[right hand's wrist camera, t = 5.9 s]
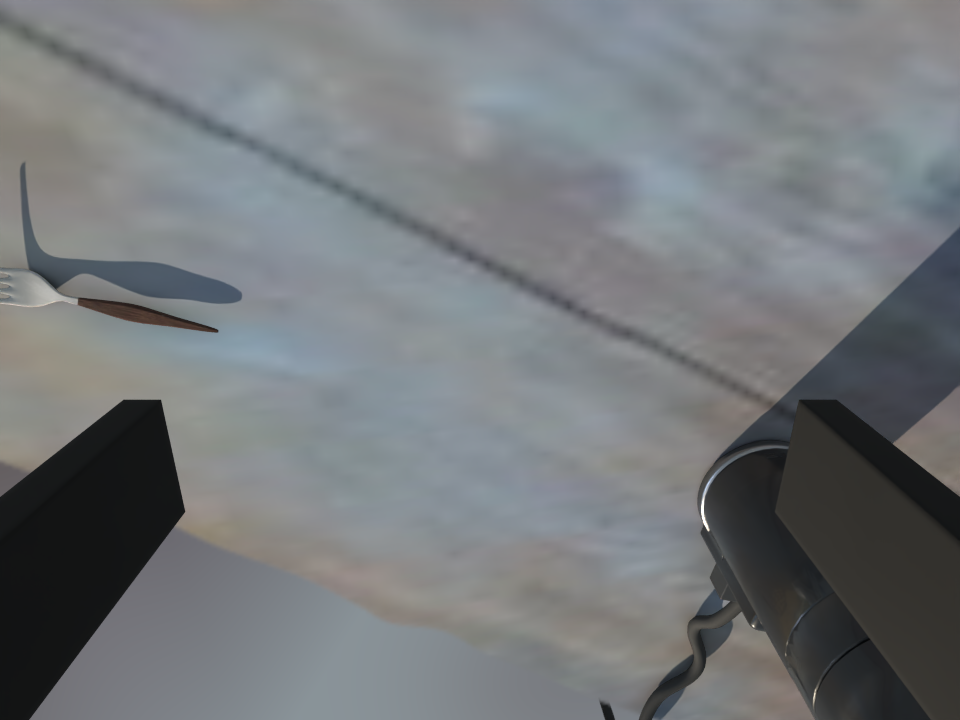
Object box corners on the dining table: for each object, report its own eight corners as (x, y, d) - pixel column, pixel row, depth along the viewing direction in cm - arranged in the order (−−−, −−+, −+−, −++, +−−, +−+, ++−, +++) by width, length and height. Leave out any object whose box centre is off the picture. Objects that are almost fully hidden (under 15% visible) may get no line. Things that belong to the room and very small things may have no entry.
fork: (219, 346, 41) (207, 357, 40) (-23, 294, 40) (-47, 303, 38) (222, 311, 40) (210, 320, 39) (-26, 256, 39) (-51, 263, 37)
